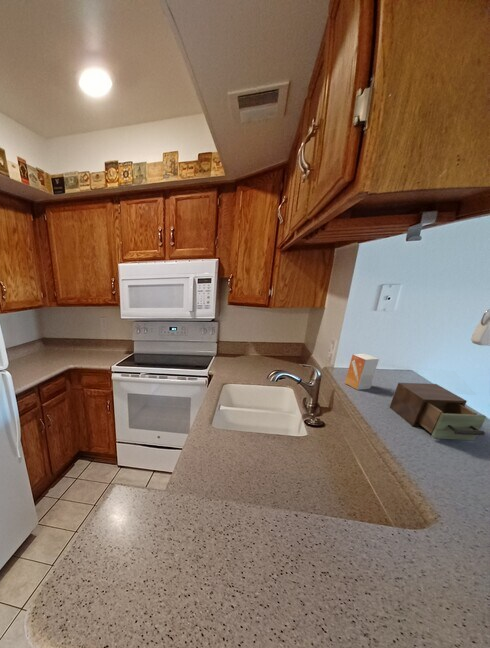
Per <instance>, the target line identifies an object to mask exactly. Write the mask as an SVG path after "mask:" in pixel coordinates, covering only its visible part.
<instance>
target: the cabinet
mask: <svg viewBox="0 0 490 648" xmlns="http://www.w3.org/2000/svg"><path fill="white" fill-rule="evenodd" d="M425 402H446V403H460V404H462V405H463V406H465V407H466V404H467V402H468V400H467V399H464V398H462V396H461V397H460V396H459V395H457V394H456V393H454V392H451V390H448V389H446V388H444V387H443V386H440V385H439V384H437V383H422V382H421V383H420V382H419V383H417V382H398V383H397V385H396V388H395V391H394V394H393V395H392V399H391V402H390V404H389V408H390V410H392V411H393V412H394V413H396V414H397V415H398V416H400V417H401V418H402V419H403V420H404V421H405V422H406V423H408V424H409V425H410V426H411V427H415V428H416V427H417V428H418V427H419V428H423V427H422V426H421V425H420V424H419V423H417V421H418V419H419V416H420V414H421V411H422V409H423V406H424V404H425Z"/></svg>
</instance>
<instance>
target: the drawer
mask: <svg viewBox="0 0 490 648" xmlns="http://www.w3.org/2000/svg"><path fill="white" fill-rule="evenodd" d="M486 419H487V416H486V415H485V414H478V413H477V412H476V411H474V410H472V409H470V408H469V407H467V406H466V405H465V406H463V405H462V404H460V403H446V402H425V404H424V406H423V409H422V411H421V414H420V416H419V419H418V421H417V423H419V424H420V425H421V426H422V427H421V428H424V429H425V430H426V431H427V432H429V434H430V435H431V438H433V439H442V440H443V439H444V440H464V441H475V440H476V438H477V436H484V435H485V433H486V432H485V430H482V429H481V428H482V426H483V424H484V422H485V420H486Z"/></svg>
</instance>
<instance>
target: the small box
mask: <svg viewBox="0 0 490 648" xmlns="http://www.w3.org/2000/svg"><path fill="white" fill-rule="evenodd" d="M379 361H380V358H378V357H375V356H373V355H370V354H367V353H354V354H352V356H351V359H350V362H349V365H348V369H347V372H346V373H347V374H346V378H345V381H344V384H346V385H347V386H349V387H351V388H353V389H355V390H357V391H359V390H370V389H371V386H372V383H373V380H374V377H375V374H376V370H377V367H378V364H379Z"/></svg>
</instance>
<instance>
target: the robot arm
mask: <svg viewBox="0 0 490 648" xmlns="http://www.w3.org/2000/svg"><path fill="white" fill-rule="evenodd" d="M470 340H471V342H472V344H475V345H478V346H490V308H489V309H488V310H486V311H484V312H483V314H482V316H481V319H480V321H479V322H478V325H477V326H476V327H475V328H474V331H473V333H472V335H471V338H470Z"/></svg>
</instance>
